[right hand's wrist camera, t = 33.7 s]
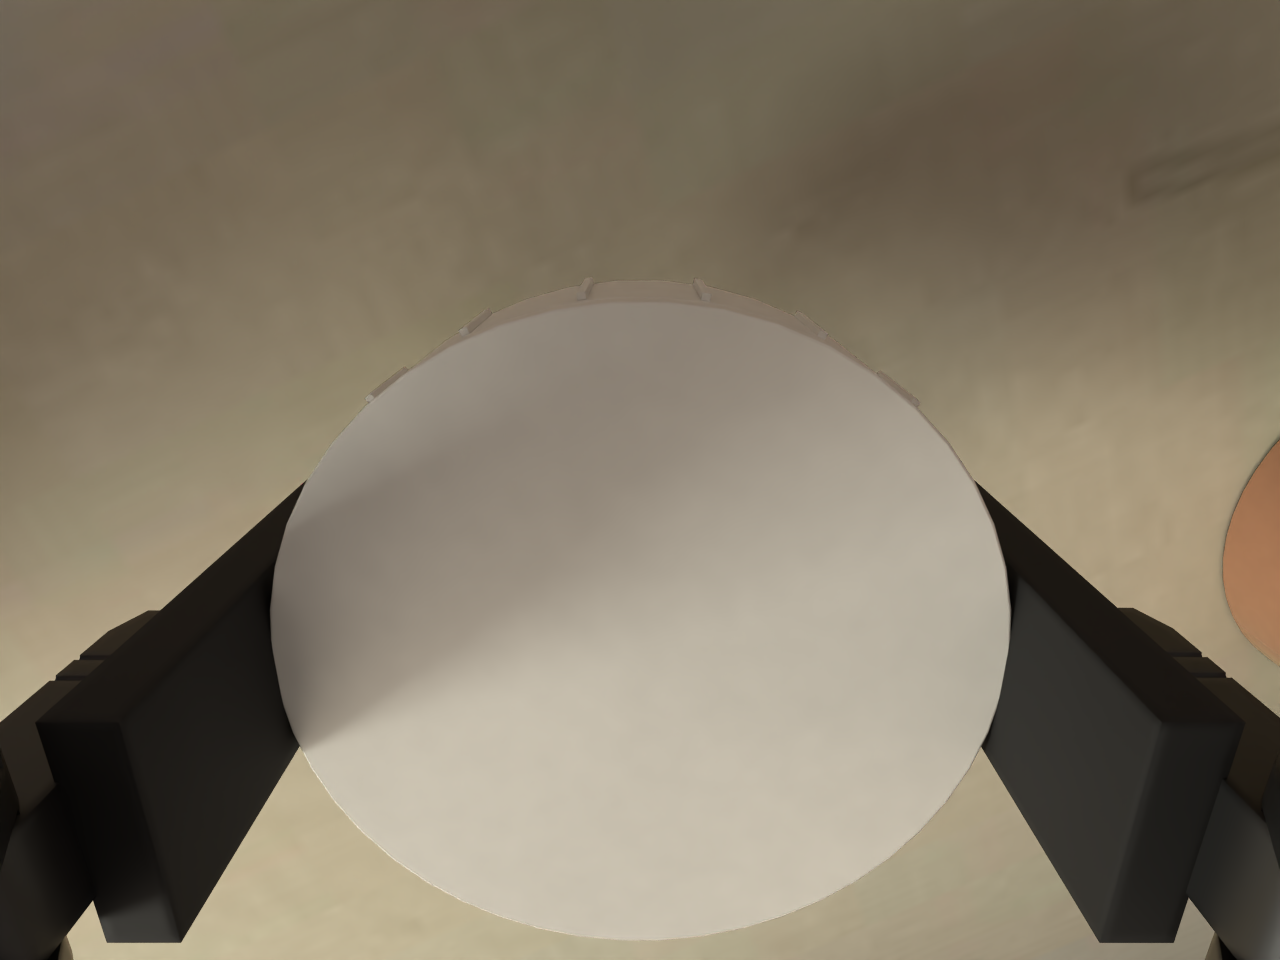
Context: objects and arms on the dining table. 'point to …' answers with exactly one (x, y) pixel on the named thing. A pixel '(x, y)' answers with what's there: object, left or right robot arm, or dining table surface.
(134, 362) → the dining table surface
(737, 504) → the lid
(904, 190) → the dining table surface
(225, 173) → the dining table surface
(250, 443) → the dining table surface
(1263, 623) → the jar
